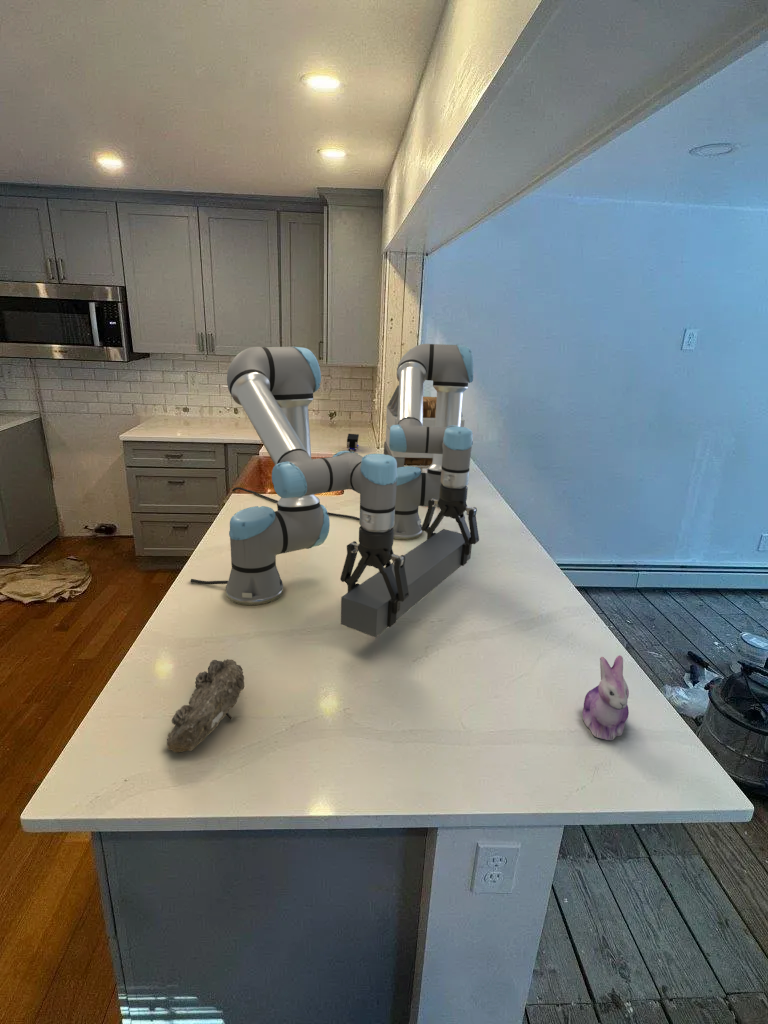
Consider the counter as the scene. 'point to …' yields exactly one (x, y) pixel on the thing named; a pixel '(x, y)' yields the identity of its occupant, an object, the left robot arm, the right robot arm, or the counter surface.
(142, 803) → the counter surface
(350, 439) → the figurine character
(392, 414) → the transformer
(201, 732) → the fossil
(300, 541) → the left robot arm
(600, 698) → the figurine
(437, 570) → the wide beam
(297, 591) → the counter surface
